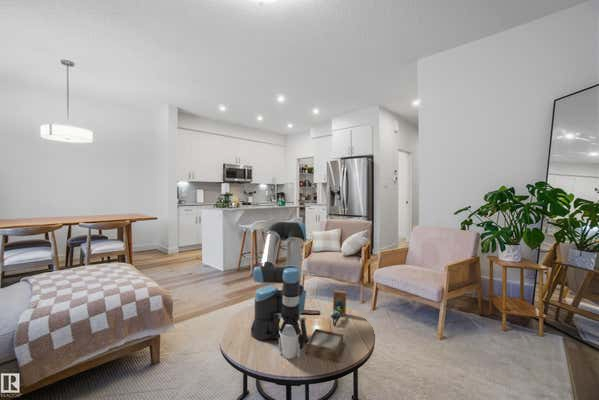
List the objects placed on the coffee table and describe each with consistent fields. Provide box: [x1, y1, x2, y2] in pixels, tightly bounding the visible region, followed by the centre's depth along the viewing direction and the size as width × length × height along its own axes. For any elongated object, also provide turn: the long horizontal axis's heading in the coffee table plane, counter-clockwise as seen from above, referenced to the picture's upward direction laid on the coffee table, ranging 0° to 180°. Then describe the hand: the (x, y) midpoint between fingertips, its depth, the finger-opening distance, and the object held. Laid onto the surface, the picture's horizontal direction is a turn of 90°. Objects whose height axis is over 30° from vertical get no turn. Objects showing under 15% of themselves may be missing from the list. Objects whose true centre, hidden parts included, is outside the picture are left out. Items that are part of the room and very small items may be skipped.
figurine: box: [330, 289, 347, 326], centre depth 152 cm, size 14×18×8 cm
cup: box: [279, 325, 302, 360], centre depth 118 cm, size 10×10×11 cm
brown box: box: [303, 328, 346, 364], centre depth 122 cm, size 16×14×5 cm
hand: (289, 353), depth 118 cm, fingers closed on cup, 8 cm apart
